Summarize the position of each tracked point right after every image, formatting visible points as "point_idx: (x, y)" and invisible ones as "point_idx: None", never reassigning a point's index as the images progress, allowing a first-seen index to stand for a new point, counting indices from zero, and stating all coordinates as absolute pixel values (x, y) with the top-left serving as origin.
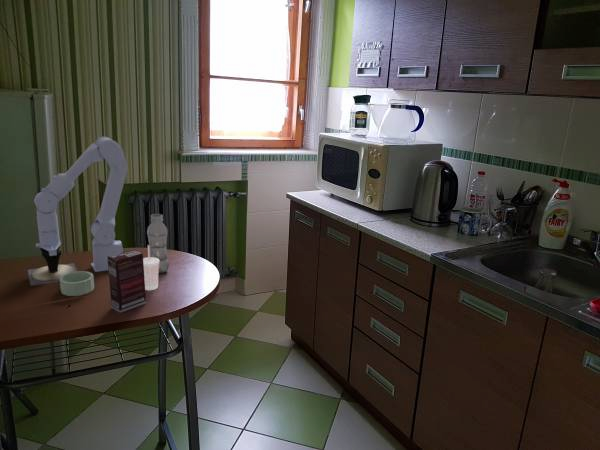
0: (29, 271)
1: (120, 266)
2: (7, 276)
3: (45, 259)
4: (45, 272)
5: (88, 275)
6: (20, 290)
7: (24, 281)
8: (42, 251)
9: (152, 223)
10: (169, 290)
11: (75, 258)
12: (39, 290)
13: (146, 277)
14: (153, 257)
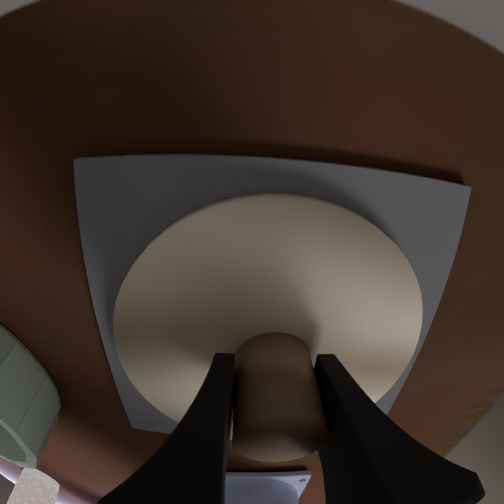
0: (434, 193)
1: None
2: (431, 25)
3: (146, 464)
4: (282, 312)
5: (20, 452)
6: (48, 84)
7: (236, 110)
8: (390, 499)
9: None
10: None
11: (439, 421)
12: (10, 214)
13: (12, 492)
14: None
